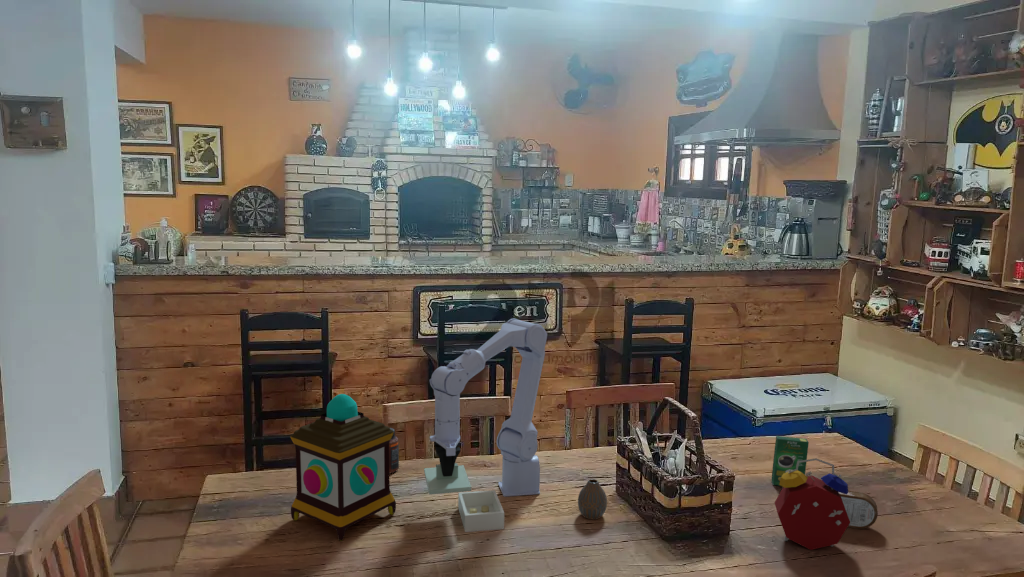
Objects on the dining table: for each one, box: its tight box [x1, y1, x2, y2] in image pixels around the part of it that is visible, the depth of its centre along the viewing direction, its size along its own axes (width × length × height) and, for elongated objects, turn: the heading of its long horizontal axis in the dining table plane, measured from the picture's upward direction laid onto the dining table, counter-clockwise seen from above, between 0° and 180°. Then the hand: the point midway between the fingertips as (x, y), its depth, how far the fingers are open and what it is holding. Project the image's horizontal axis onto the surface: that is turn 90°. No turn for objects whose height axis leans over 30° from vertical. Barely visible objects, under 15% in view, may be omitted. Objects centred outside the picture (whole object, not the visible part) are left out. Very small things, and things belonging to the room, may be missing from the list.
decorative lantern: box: [289, 393, 397, 542], centre depth 167 cm, size 20×20×30 cm
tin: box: [839, 489, 879, 530], centre depth 170 cm, size 15×3×8 cm, turn 71°
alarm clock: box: [774, 457, 850, 551], centre depth 158 cm, size 15×9×20 cm, turn 77°
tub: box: [457, 489, 505, 533], centre depth 170 cm, size 9×12×4 cm
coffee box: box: [771, 435, 809, 487], centre depth 190 cm, size 8×3×13 cm, turn 79°
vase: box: [577, 478, 608, 520], centre depth 172 cm, size 7×7×9 cm
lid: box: [423, 462, 472, 495], centre depth 169 cm, size 10×13×5 cm
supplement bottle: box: [389, 427, 400, 474], centre depth 196 cm, size 6×6×11 cm
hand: (446, 473), depth 169 cm, fingers closed on lid
